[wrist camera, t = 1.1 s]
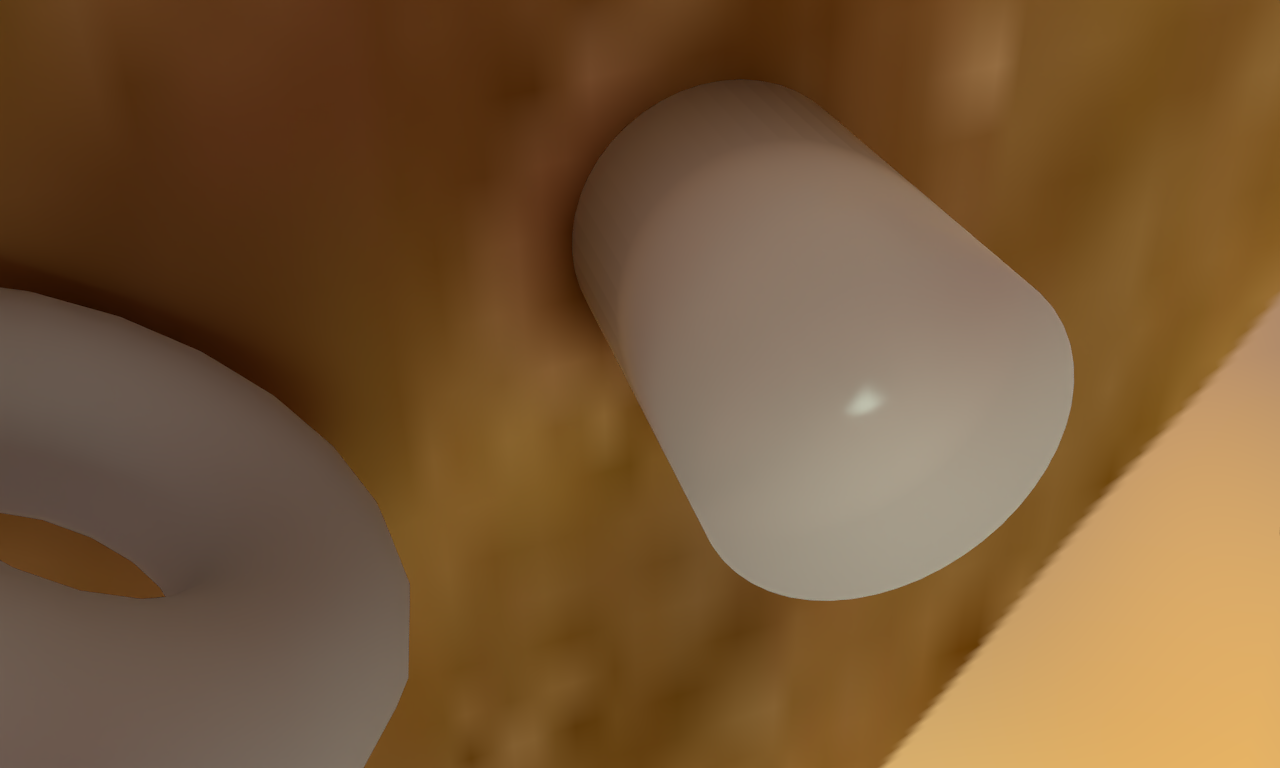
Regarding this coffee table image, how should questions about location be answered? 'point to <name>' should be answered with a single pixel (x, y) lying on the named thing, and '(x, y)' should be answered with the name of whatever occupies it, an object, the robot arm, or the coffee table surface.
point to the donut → (185, 562)
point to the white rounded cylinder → (815, 342)
